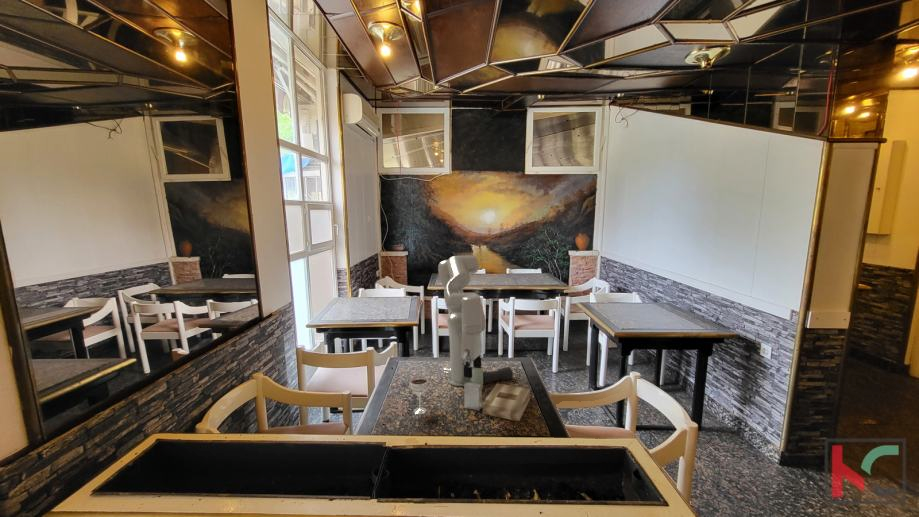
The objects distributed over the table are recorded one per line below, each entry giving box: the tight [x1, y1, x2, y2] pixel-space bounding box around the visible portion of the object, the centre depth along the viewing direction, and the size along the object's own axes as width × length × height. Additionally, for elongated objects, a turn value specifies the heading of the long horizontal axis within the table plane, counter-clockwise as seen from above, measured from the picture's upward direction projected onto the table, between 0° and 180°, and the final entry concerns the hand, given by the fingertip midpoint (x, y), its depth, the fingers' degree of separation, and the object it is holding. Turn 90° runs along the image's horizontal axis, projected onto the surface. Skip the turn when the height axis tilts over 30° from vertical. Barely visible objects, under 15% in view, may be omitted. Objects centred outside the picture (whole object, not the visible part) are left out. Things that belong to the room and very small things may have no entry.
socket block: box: [481, 383, 531, 422], centre depth 132 cm, size 14×18×4 cm
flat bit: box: [463, 382, 483, 412], centre depth 131 cm, size 6×3×9 cm, turn 66°
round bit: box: [471, 366, 484, 392], centre depth 146 cm, size 5×5×9 cm
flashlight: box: [483, 366, 514, 385], centre depth 154 cm, size 15×5×5 cm, turn 110°
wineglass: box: [410, 376, 429, 415], centre depth 129 cm, size 7×7×12 cm
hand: (472, 372), depth 130 cm, fingers open, 9 cm apart
